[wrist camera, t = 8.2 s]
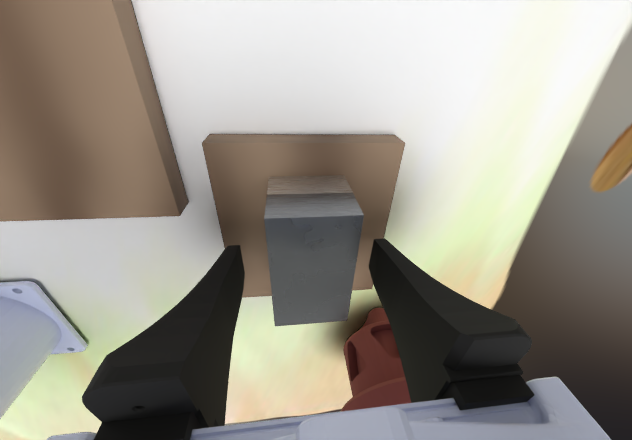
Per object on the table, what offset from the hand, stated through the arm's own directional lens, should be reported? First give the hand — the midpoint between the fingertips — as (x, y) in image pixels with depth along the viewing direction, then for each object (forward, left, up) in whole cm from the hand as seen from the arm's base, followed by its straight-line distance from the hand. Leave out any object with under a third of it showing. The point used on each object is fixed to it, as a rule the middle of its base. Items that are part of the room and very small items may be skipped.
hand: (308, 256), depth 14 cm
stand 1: (-12, +7, -4) cm, 14 cm away
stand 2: (0, 0, -4) cm, 4 cm away
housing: (0, 0, -2) cm, 2 cm away
